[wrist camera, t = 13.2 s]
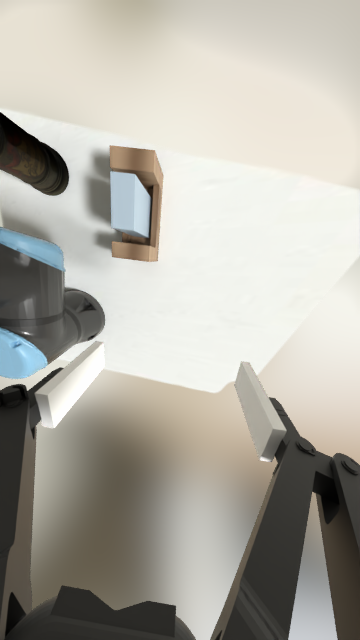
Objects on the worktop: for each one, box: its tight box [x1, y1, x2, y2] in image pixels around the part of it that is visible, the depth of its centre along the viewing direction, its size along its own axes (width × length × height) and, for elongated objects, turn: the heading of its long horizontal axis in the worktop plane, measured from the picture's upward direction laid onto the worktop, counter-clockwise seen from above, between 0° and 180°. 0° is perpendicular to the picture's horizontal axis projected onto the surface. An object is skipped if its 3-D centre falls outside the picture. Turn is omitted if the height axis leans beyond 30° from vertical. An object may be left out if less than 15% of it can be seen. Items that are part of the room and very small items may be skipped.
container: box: [0, 112, 69, 196], centre depth 30 cm, size 9×9×18 cm
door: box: [110, 171, 152, 238], centre depth 34 cm, size 4×8×12 cm, turn 173°
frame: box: [110, 146, 163, 262], centre depth 36 cm, size 8×18×9 cm, turn 173°
